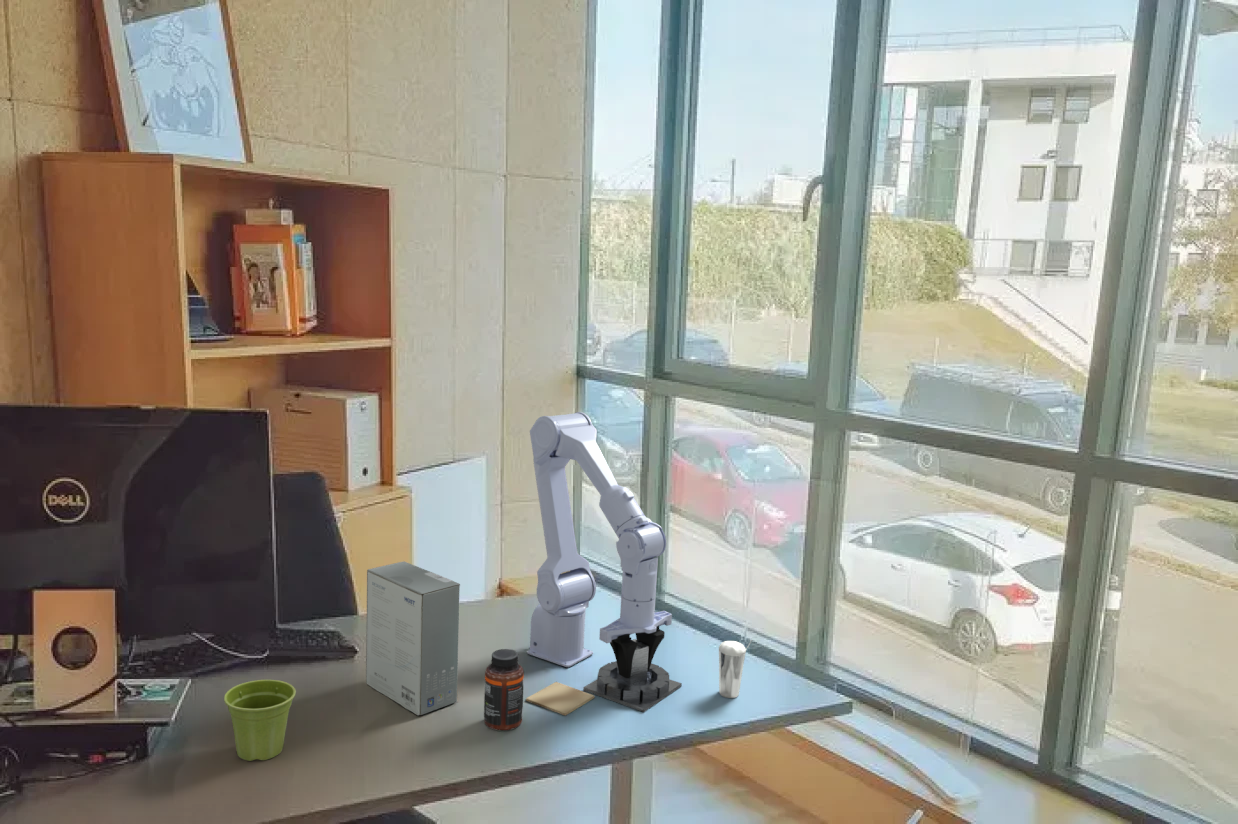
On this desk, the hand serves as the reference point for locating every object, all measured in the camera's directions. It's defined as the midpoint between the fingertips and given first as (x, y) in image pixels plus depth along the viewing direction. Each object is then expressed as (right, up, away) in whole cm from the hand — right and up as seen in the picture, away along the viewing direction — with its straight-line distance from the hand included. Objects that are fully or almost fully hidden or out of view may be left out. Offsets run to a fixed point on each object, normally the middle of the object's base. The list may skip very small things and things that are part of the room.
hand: (633, 672), depth 161 cm
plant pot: (-53, -4, -25) cm, 59 cm away
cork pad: (-12, -3, -5) cm, 13 cm away
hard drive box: (-36, -2, -5) cm, 37 cm away
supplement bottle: (-20, -4, -14) cm, 25 cm away
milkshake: (+16, -4, 0) cm, 17 cm away
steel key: (0, -2, +1) cm, 2 cm away
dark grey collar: (0, -3, 0) cm, 3 cm away
